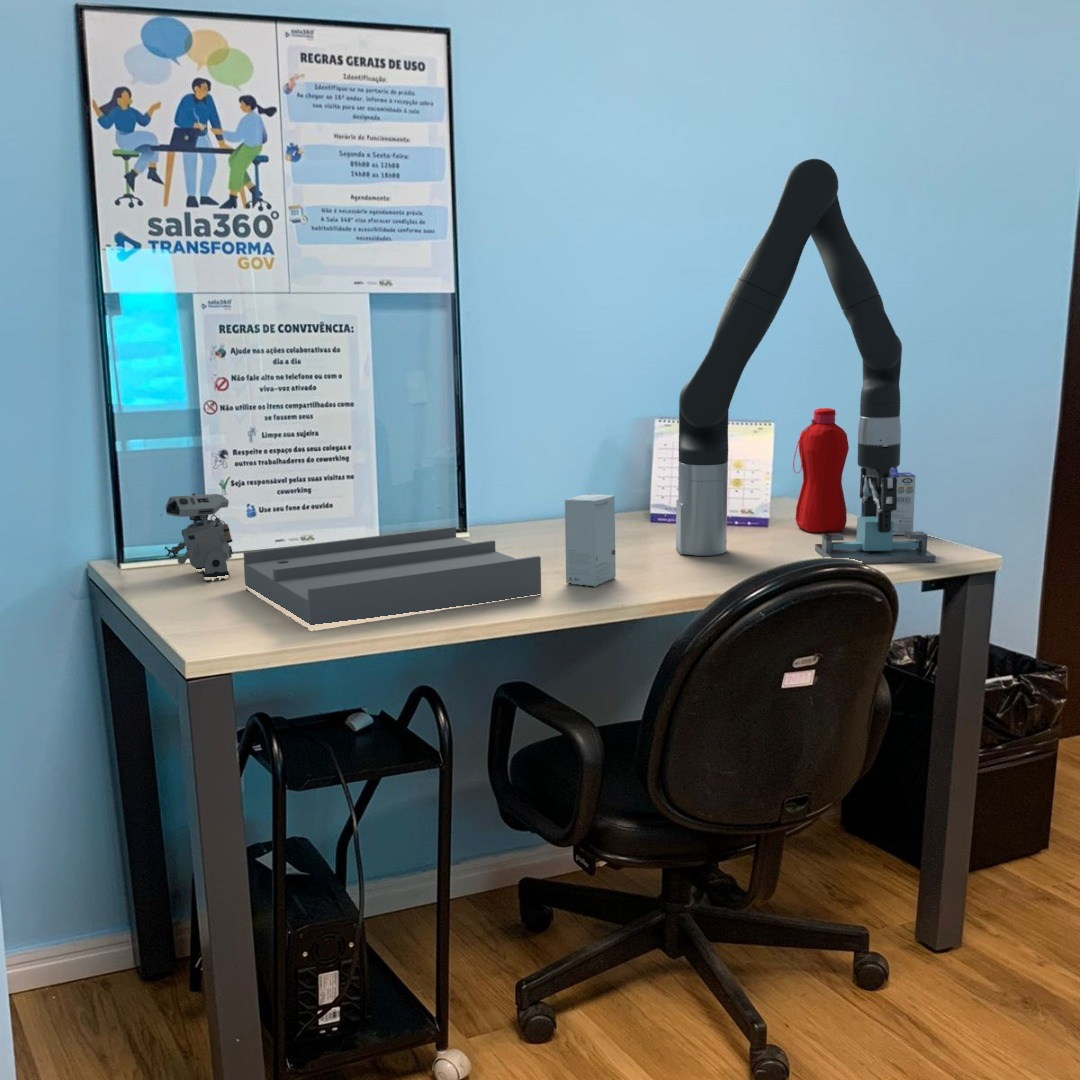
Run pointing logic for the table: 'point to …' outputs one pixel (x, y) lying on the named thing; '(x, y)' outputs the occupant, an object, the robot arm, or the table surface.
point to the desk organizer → (388, 575)
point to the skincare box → (590, 539)
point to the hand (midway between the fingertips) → (876, 527)
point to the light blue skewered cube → (873, 538)
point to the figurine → (202, 533)
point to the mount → (878, 556)
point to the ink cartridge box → (902, 502)
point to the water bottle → (822, 474)
